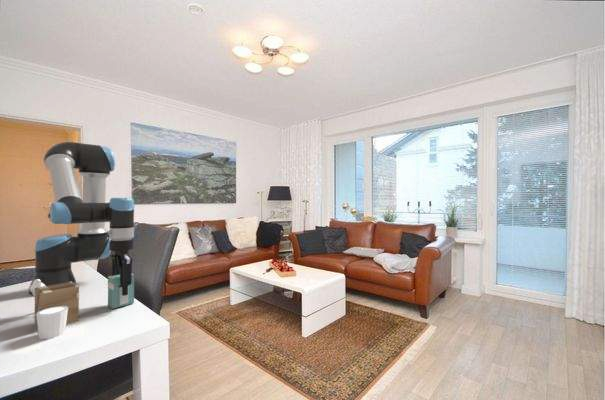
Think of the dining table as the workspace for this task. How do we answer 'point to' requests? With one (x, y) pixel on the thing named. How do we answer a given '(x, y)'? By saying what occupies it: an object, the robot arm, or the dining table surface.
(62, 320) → the shot glass
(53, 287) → the cardboard box
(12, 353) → the dining table surface
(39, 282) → the figurine
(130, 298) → the block
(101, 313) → the dining table surface
